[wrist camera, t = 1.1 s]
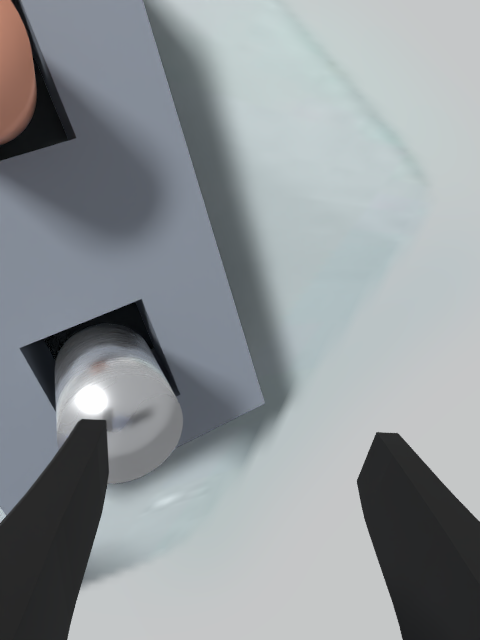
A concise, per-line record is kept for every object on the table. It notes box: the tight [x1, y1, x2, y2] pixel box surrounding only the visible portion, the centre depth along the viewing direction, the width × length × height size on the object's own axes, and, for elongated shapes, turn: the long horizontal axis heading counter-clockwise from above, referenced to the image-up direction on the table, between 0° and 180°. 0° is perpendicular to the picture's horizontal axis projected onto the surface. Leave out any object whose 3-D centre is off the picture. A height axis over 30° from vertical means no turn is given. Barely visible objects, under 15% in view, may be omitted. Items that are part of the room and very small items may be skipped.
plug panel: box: [0, 0, 265, 516], centre depth 16 cm, size 11×19×5 cm, turn 18°
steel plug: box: [54, 323, 183, 484], centre depth 15 cm, size 4×4×4 cm
